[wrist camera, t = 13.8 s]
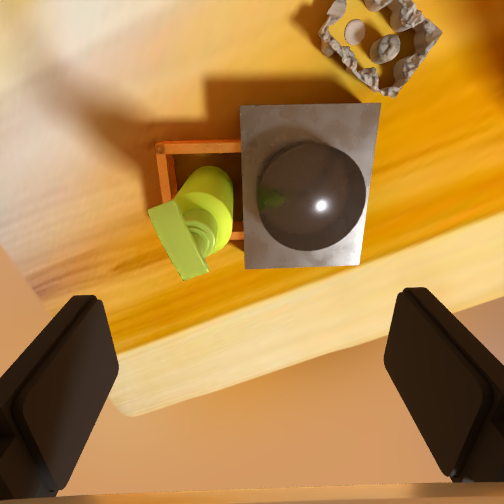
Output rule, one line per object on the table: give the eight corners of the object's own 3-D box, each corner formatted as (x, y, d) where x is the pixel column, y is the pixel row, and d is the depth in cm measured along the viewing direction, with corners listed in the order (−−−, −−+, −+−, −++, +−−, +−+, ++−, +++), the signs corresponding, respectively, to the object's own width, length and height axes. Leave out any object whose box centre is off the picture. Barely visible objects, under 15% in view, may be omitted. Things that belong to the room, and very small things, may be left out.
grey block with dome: (158, 107, 35) (137, 107, 28) (362, 103, 36) (395, 101, 28) (177, 254, 42) (165, 284, 35) (346, 248, 43) (368, 276, 36)
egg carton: (306, 43, 33) (314, 34, 30) (353, -32, 31) (368, -52, 27) (379, 105, 36) (395, 104, 32) (427, 40, 34) (451, 32, 30)
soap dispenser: (219, 149, 37) (202, 189, 19) (240, 202, 40) (244, 282, 22) (173, 168, 38) (115, 223, 19) (198, 219, 40) (167, 309, 22)
